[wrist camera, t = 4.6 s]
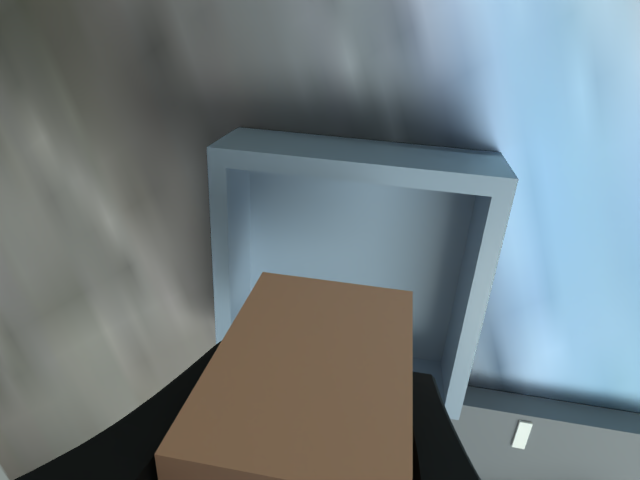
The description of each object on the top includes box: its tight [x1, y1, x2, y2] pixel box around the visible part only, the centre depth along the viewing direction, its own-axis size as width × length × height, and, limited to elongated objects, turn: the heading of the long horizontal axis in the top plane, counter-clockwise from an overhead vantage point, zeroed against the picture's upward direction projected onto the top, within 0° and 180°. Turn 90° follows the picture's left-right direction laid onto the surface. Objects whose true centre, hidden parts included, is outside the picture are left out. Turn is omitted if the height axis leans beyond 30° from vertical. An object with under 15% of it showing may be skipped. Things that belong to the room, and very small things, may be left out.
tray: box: [207, 127, 518, 420], centre depth 17 cm, size 9×9×3 cm
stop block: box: [154, 272, 413, 480], centre depth 11 cm, size 4×4×6 cm
